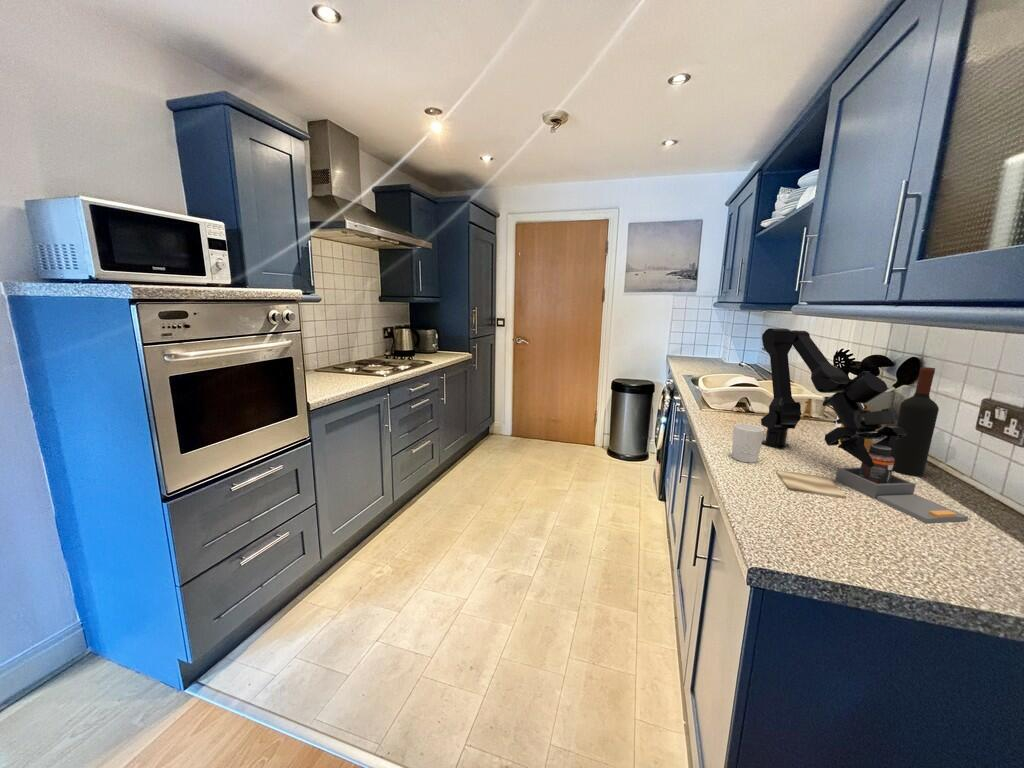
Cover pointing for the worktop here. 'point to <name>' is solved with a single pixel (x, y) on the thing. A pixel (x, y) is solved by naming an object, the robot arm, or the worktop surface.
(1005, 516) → the worktop surface
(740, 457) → the white cup
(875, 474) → the supplement bottle
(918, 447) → the wine bottle
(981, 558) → the worktop surface
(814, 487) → the board
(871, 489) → the case
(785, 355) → the robot arm
